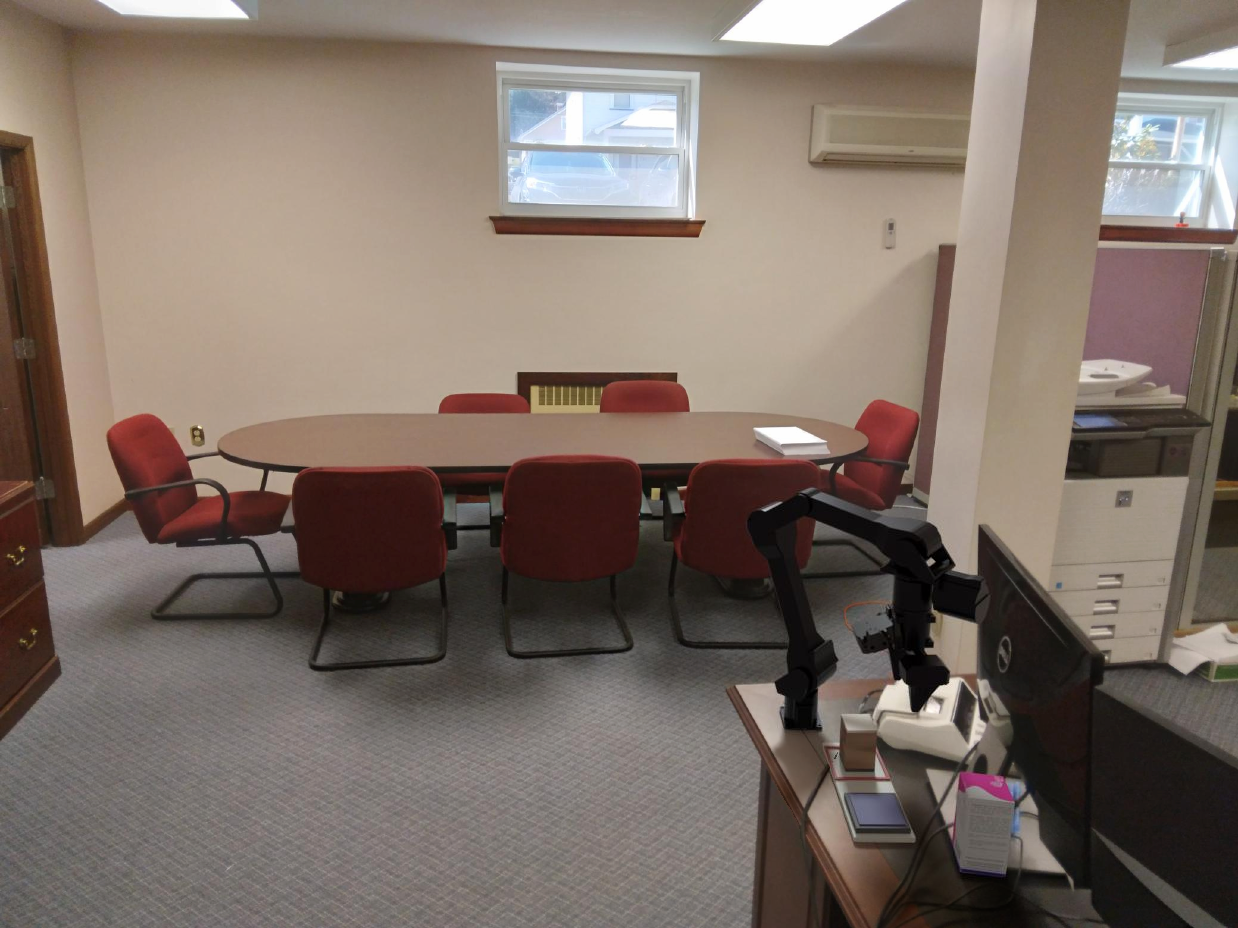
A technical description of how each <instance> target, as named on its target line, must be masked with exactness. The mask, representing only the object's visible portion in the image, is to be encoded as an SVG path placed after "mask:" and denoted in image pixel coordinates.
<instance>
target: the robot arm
mask: <svg viewBox="0 0 1238 928" xmlns="http://www.w3.org/2000/svg"><path fill="white" fill-rule="evenodd" d="M806 517H807V518H809V519H812V520H814V521H817V522H819V523H821V524H823V525H826V526H828V527H831V528H834V529H836V530H838V531H841V532H842V533H845V534H848V535H850V536H853V537H856V538H858V539H861V540H863V541H866V542H868V543H870V544H871V545H873V546H875V548H877V550H878V551H879V552H880V553H881V554H882V555H883V556H884V557H885V558H887V559H889V561H888V562H887V563H886V564H883V565H882V566H881V567H880V568H879V572H881V573H883V574H888V575H892V576H893V583H892V595H891V596H892V597H891V599H892V600H891V601H892V602H891V603H887V605H886V606H885V611H880V612H878V613H877V614H876V615H874V616H871V617H867V618H864V619H862V620H861V619H860V620H858V621H856V622H854V623H852V624H851V626H850V627H851V629H852V632H853V635H854V638H855V640H856V643H857V645H858V647H859V649H860V651H861V653H862V655H863V654H864V655H869V654H876V653H879V652H883V651H885V650H887V655H888V659H889V665H890V670H891V674H892V678H893V681H895V682H896V681H898V682H900V681H902V682H903V684H905V685H906V686H907V687H908V699H909V705H910V706H909V707H910V711H911V713H913V714H914V713H920V712H921V710H922V708H923V707H924V706H925V705H926V703H927V702H928V701H929V699H930V698H931V697H932V695H933V694H934V693H935V692H936V691H937V690H938V688H939V687H941V686H947V685H948V684H949V683H950V679H951V678H950V677H951V671H950V669H949V668H948V666H947V665H946V663H945V662H944V661H943V660H942V658H941V657H940V656H939V655H937V654H936V653H935V654H928V653H927V652H926V650H925V649H934V648H935V647H934V646H935V640H933V638H932V637H931V624H936V622H937V621H936V620H937V616H936V615H935V614H934V612H933V611H936V612H937V613H938V614H941V615H944V616H947V617H951V618H954V619H959V620H963V621H965V622H969V623H971V624H972V623H973V624H976V625H981V624H982V622H983V621H984V620H985V619H986V616H987V613H988V610H989V607H990V600H991V594H990V593H989V587H988V585H987V584H986V581H987V579H986V577H985V576H982V575H979V574H969V573H966V572H965V573H964V572H961V571H957V570H953V569H954V568H955V567H957V566H956V563H955V562H954V560H953V558H952V557H951V555H950V553H949V551H948V550H947V548H946V547H945V545H944V543H943V538H942V536H941V533H940V532H939V530H938V527H937V526H936V525H935V524H933V523H931V522H929V521H926V520H921V519H917V518H910V517H905V516H904V517H899V516H898V517H897V516H889V515H883V514H880V513H877V512H875V511H872V510H870V509H867V508H865V507H862V506H860V505H857V504H854V503H852V502H850V501H847V500H844V499H841V498H838V497H836V496H834V495H831V494H828V493H825V492H823V491H822V490H820V489H819V488H816V487H808V488H806V489H803V490H801V491H799V492H796V493H795V494H794V495H793V496H791V498H788V499H786V500H785V501H774V502H771V503H768V504H766V505H764V506H763V507H760V508H758V509H756V510H753V511H752V512H751V513H750V514H749V516H748V517H747V519H746V523H745V524H746V530H747V532H748V534H749V536H750V539H751V541H752V544H753V546H754V548H755V549H756V550H757V551H758V552H759V553H760V555H762V556H763V557H764V559H765V560H766V561H767V565H768V569H769V572H770V577H771V579H772V580H771V581H772V583H773V587H774V591H775V594H776V597H777V601H778V606H779V608H780V612H781V616H782V619H783V623H784V626H785V630H786V634H787V638H788V643H787V650H786V656H785V662H786V668H787V669H786V670H787V672H786V673H784V674H783V675H782V676H781V677H779V678H777V679H776V680H775V681H774V686H775V690H776V693H777V694H779V695H781V696H783V697H784V702H783V703H784V705H781V706H779V711H780V716H781V720H782V724H783V727H784V729H785V730H822V729H823V723H822V721H821V717H820V714H819V712H818V711H819V709H818V707H819V688H820V687H821V686H822V685H823V684H825V683H826V682H827V681H828V680H829V679H831V678H832V677H833V676H834V675H835V674H836V672H837V669H838V665H837V663H838V662H839V661H840V659H839V658H838V657H837V654H836V652H835V646H834V641H833V639H831V638H830V639H824V638H823V637H822V635H821V634H820V633H819V632H818V630H817V627H816V624H815V620H814V617H813V614H812V610H811V607H810V602H809V599H808V596H807V591H806V588H805V584H804V580H803V577H802V575H801V570H800V567H799V562H798V560H797V556H796V546H797V539H798V526H797V525H798V524H797V521H798V520H801V519H802V518H806ZM931 559H932V560H933V561H934V562H933V563H932V564H930V565H929V564H928V563H927V562H928V561H929V560H931ZM932 610H933V611H932Z"/></svg>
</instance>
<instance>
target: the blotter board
mask: <svg viewBox="0 0 1238 928" xmlns="http://www.w3.org/2000/svg"><path fill="white" fill-rule="evenodd" d="M839 746H840V742H822V745H821V747H822V750H823V753H824V756H825V759H826V762H827V765H828V764H829V765H830V769H829V772H830V774H831V777H832V781H833V783H834V786H835V789H836V792H837V795H838V798H839V801H840V804H841V808H842V811H843V813H844V816H845V819H846V822H847V826H848V828H849V832H850V834H851V838H852V841H853V843H908V844H909V843H912V844H913V843H916V840H917V837H916V835H915V833H914V830H913V828H912V827H911V824H910V822H909V819H908V817H907V815H906V813H905V811H904V808H903V806H902V804H901V800H900V799H899V797H898V795H897V793H896V792H897V791H896V789H895V788H894V786H893V783H892V781H891V777H890V775H889V772H888V770H887V768H886V766H885V763H884V761H883V758H882V757H881V755H880V752H879V749H878V748H877V746H876V759H875V772H845V769H844V766H843V763H842V761H841V758H840V755H839ZM837 752H838V754H837ZM836 754H837V757H836V759H834V757H835V755H836ZM832 761H833V762H832Z"/></svg>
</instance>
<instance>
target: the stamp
mask: <svg viewBox="0 0 1238 928" xmlns="http://www.w3.org/2000/svg"><path fill="white" fill-rule="evenodd" d="M839 730H840V732H839V743H840V746H839V755H840V758H841V761H842V763H843V766H844V769H845V772H875V759H876V747H877V740H878V739H877V738H878V737H877V736H878V729H877V727H876V724H875V723H874V721H873V719H872V716H871V714H870V713H841V714H840V728H839Z"/></svg>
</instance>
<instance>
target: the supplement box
mask: <svg viewBox="0 0 1238 928" xmlns="http://www.w3.org/2000/svg"><path fill="white" fill-rule="evenodd" d="M956 793H957V794H956V803H955V811H954V819H953V828H952V835H951V836H952V837H951V845H952V849H953V853H954V856H955V860H956V863H957V867H958V870H959V872H960V873H966V874H974V875H975V874H976V875H984V876H991V877H999V878H1005V877H1006V876H1007V868H1008V867H1007V866H1008V861H1009V860H1008V859H1009V852H1010V846H1011V845H1010V844H1011V838H1012V830H1013V823H1014V822H1013V821H1014V812H1015V804H1016V803H1015V800H1014V797H1013V796H1012V793H1011V790H1010V789H1009V786H1008V784H1007V782H1006V780H1005V777H1004V776H1002V775H995V774H986V773H985V774H982V773H975V772H968V771H967V772H966V771H959V775H958V783H957V792H956Z"/></svg>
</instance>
